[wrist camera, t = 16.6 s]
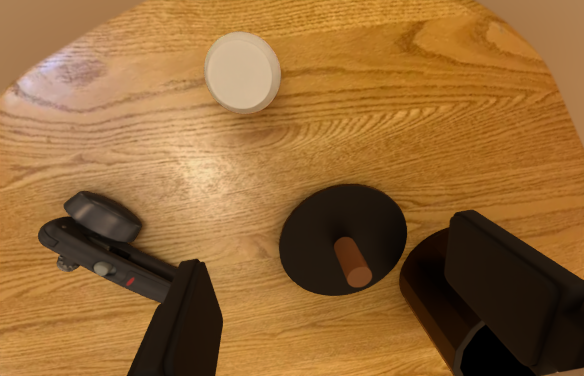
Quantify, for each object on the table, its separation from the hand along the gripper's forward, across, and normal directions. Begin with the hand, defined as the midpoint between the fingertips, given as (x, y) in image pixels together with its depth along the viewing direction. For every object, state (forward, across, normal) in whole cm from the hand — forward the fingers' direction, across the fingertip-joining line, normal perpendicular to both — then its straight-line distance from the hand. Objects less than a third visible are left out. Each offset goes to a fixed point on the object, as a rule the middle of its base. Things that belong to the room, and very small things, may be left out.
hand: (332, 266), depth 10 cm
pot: (+20, -20, +21) cm, 35 cm away
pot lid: (+19, -5, +13) cm, 24 cm away
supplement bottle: (+20, +3, -7) cm, 21 cm away
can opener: (+20, +18, +10) cm, 28 cm away
